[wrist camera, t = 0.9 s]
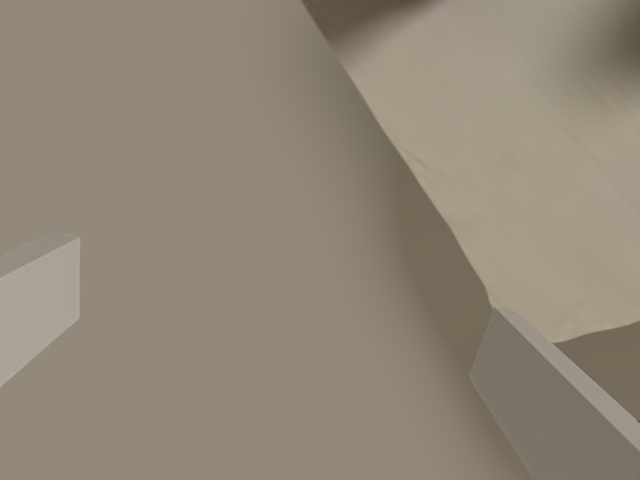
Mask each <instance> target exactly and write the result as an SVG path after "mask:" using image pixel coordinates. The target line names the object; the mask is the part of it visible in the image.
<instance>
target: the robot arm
mask: <svg viewBox="0 0 640 480" xmlns="http://www.w3.org/2000/svg"><path fill="white" fill-rule="evenodd" d="M79 295H80V237H77V236H71V235H65V234H60V233H54V232H53V233H51V234H48V235H46V236H44V237H42V238H39V239H37V240H35V241H32V242H30V243H28V244H26V245H23V246H21V247H19V248H16V249H15V250H12V251H9V252H7V253H5V254H3V255H0V386H2V385H3V384H4V383H5V382H6V381H7V380H9V379H10V378H11V377H12V376H13V375H14V374H16V373H17V372H18V371H19V370H20V369H21V368H22V367H24V366H25V365H26V364H27V363H28V362H29V361H31V360H32V359H33V358H34V357H35V356H36V355H37V354H39V353H40V352H41V351H42V350H43V349H44V348H46V347H47V346H48V345H49V344H50V343H51V342H53V341H54V340H55V339H56V338H57V337H58V336H59V335H61V334H62V333H63V332H64V331H65V330H66V329H67V328H68V327H70V326H71V325H72V324H73V323H74V322H76V321H77V320H78V319H79V309H80V308H79V307H80V301H79V300H80V298H79V297H80V296H79ZM469 378H470V380H471V382H472V383H473V385H474V386H475V388H476V390H477V391H478V393H479V394H480V396H481V397H482V399H483V401H484V402H485V404H486V405H487V407H488V409H489V410H490V412H491V413H492V415H493V416H494V418H495V420H496V421H497V423H498V424H499V426H500V428H501V429H502V431H503V432H504V434H505V435H506V437H507V439H508V440H509V442H510V443H511V445H512V447H513V448H514V450H515V451H516V453H517V455H518V456H519V458H520V459H521V461H522V462H523V464H524V466H525V467H526V469H527V470H528V472H529V474H530V475H531V477H532V478H533V480H640V422H639V421H638V420H636V419H635V418H634V417H632V416H631V415H630V414H629V413H628V412H627V411H626V410H625V409H624V408H622V407H621V406H620V405H619V404H618V403H617V402H616V401H615V400H614V399H613V398H611V397H610V396H609V395H608V394H607V393H606V392H605V391H604V390H603V389H602V388H601V387H599V386H598V385H597V384H596V383H595V382H594V381H593V380H592V379H591V378H590V377H588V376H587V375H586V374H585V373H584V372H583V371H582V370H581V369H580V368H579V367H577V366H576V365H575V364H574V363H573V362H572V361H571V360H570V359H569V358H567V357H566V356H565V355H564V354H563V353H562V352H561V351H560V350H559V349H558V348H556V347H555V346H554V345H553V344H552V343H551V342H550V341H549V340H548V339H547V338H545V337H544V336H543V335H542V334H541V333H540V332H539V331H538V330H537V329H536V328H534V327H533V326H532V325H531V324H530V323H529V322H528V321H527V320H526V319H525V318H523V317H522V316H521V315H520V314H519V313H518V312H517V311H513V310H507V309H501V308H494V310H493V313H492V316H491V318H490V321H489V324H488V326H487V330H486V332H485V334H484V337H483V340H482V342H481V345H480V348H479V350H478V353H477V356H476V358H475V361H474V364H473V366H472V369H471V372H470V375H469Z"/></svg>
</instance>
